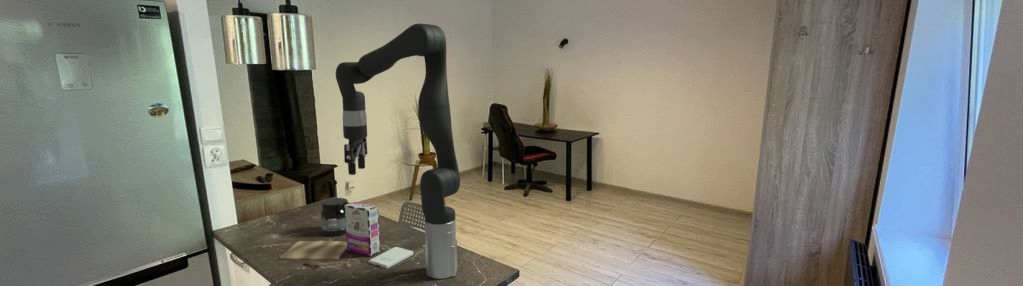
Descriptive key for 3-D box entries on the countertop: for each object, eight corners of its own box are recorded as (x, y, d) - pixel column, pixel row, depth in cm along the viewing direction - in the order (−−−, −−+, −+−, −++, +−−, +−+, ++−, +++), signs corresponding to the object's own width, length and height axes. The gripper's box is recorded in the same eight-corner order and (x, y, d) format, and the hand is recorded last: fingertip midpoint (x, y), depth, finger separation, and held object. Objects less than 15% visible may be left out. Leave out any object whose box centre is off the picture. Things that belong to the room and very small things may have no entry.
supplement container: (343, 224, 187) (341, 195, 185) (355, 231, 180) (354, 201, 178) (316, 231, 180) (314, 201, 178) (328, 239, 173) (326, 207, 170)
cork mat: (351, 242, 169) (351, 241, 169) (337, 259, 155) (337, 257, 155) (298, 242, 169) (298, 241, 169) (279, 259, 155) (279, 257, 155)
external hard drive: (413, 255, 160) (387, 270, 149) (395, 250, 164) (368, 264, 153) (413, 251, 160) (387, 265, 149) (395, 246, 164) (368, 259, 153)
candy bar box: (381, 251, 162) (379, 205, 159) (370, 257, 158) (368, 210, 155) (357, 245, 167) (354, 200, 164) (346, 250, 163) (343, 204, 160)
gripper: (358, 127, 148) (360, 177, 151) (373, 120, 162) (375, 166, 165) (334, 126, 149) (337, 176, 152) (351, 120, 163) (354, 166, 166)
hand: (357, 171), depth 158 cm, fingers open, 8 cm apart
